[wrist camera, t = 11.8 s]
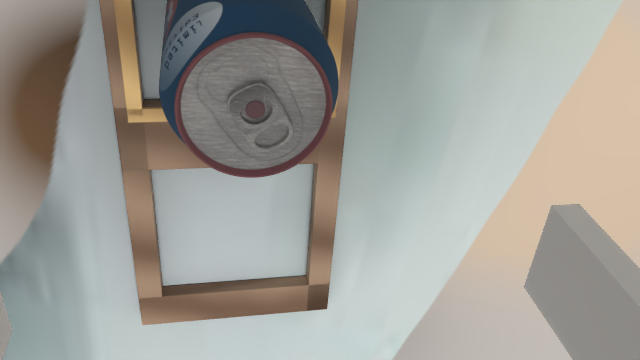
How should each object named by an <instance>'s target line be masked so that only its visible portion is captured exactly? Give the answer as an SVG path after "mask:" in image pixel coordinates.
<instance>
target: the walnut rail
mask: <svg viewBox="0 0 640 360" xmlns="http://www.w3.org/2000/svg"><path fill="white" fill-rule="evenodd" d="M99 3H100V10H101V18H102V25H103V33H104V40H105V48H106V55H107V63H108V70H109V78H110V85H111V93H112V100H113V108H114V115H115V123H116V130H117V138H118V145H119V153H120V160H121V168H122V175H123V183H124V190H125V198H126V205H127V213H128V220H129V228H130V235H131V243H132V251H133V258H134V266H135V273H136V281H137V288H138V296H139V303H140V311H141V318H142V325H149V324H161V323H172V322H184V321H195V320H206V319H218V318H229V317H241V316H252V315H264V314H275V313H287V312H298V311H310V310H321V309H327V304H328V294H329V284H330V274H331V264H332V255H333V245H334V235H335V225H336V215H337V205H338V195H339V185H340V176H341V166H342V156H343V146H344V136H345V126H346V116H347V106H348V97H349V87H350V77H351V67H352V57H353V47H354V37H355V27H356V18H357V8H358V0H326V11H325V25H324V38H325V40H326V41H327V43H328V45H329V47H330V49H331V51H332V53H333V56H334V59H335V61H336V65H337V70H338V79H339V88H338V96H337V101H336V105H335V108H334V111H333V113H332V116H331V120H330V124H329V127H328V129H327V131H326V134H325V135H324V137H323V139H322V141H321V142H320V144H319V145H318V146H317V148H316V149H315V150H314V151H313V152H312V153H311V154H310V155H309V156H308V157H307V158H305V159H304V160H303V161H302V162H300V163H299V164H314V177H313V191H312V205H311V219H310V233H309V246H308V260H307V274H306V276H294V277H280V278H267V279H254V280H241V281H228V282H214V283H201V284H188V285H175V286H163V285H162V275H161V266H160V256H159V246H158V236H157V226H156V217H155V207H154V197H153V187H152V177H151V170H160V169H186V168H212V167H210V166H208V165H207V164H205V163H204V162H202V161H201V160H200V159H198V158H197V157H196V156H195V155H194V154H193V153H192V152H191V151H190V149H189V148H188V147H187V145H186V144H185V143H184V142H183V141H182V140H181V139H180V138H179V137H178V136H177V135H176V134H175V132H174V131H173V129H172V128H171V126H170V125H169V123H168V121H167V119H166V117H165V115H164V112H163V109H162V105H161V101H160V99H148V100H144V99H143V89H142V79H141V70H140V60H139V50H138V40H137V31H136V21H135V11H134V1H133V0H99Z"/></svg>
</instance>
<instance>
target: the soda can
mask: <svg viewBox="0 0 640 360" xmlns="http://www.w3.org/2000/svg"><path fill="white" fill-rule="evenodd" d="M338 88H339V79H338V70H337V65H336V61H335V59H334V56H333V53H332V51H331V49H330V47H329V45H328V43H327V41H326V40H325V38H324V36H323V34H322V32H321V30H320V29H319V27H318V25H317V23H316V21H315V19H314V18H313V16H312V14H311V12H310V10H309V8H308V6H307V5H306V3H305V1H304V0H167V7H166V17H165V28H164V38H163V48H162V59H161V69H160V80H159V93H160V101H161V105H162V109H163V112H164V115H165V117H166V119H167V121H168V123H169V125H170V126H171V128H172V129H173V131H174V132H175V134H176V135H177V136H178V137H179V138H180V139H181V140H182V141H183V142H184V143H185V144H186V145H187V147H188V148H189V149H190V151H191V152H192V153H193V154H194V155H195V156H196V157H197V158H198V159H200V160H201V161H202V162H204V163H205V164H207V165H208V166H210V167H212V168H213V169H216V170H218V171H220V172H223V173H226V174H229V175H233V176H239V177H264V176H270V175H274V174H277V173H280V172H283V171H286V170H288V169H290V168H292V167H294V166H295V165H297V164H299V163H300V162H302V161H303V160H304V159H305V158H307V157H308V156H309V155H310V154H311V153H312V152H313V151H314V150H315V149H316V148H317V146H318V145H319V144H320V142H321V141H322V139H323V137H324V135H325V134H326V131H327V129H328V127H329V124H330V120H331V116H332V113H333V111H334V108H335V105H336V101H337V96H338Z"/></svg>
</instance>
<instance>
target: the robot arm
mask: <svg viewBox="0 0 640 360" xmlns="http://www.w3.org/2000/svg"><path fill="white" fill-rule="evenodd" d="M524 287H525V289H526V290H527V292H528V294H529V295H530V296H531V298H532V300H533V301H534V302H535V304H536V305H537V307H538V308H539V310H540V311H541V313H542V314H543V316H544V317H545V319H546V320H547V322H548V323H549V325H550V326H551V328H552V329H553V330H554V332H555V334H556V335H557V337H558V338H559V340H560V341H561V343H562V344H563V346H564V347H565V349H566V350H567V352H568V353H569V354H570V356H571V357H572V359H573V360H640V268H638V266H637V265H636V264H635V263H634V262H633V261H632V260H631V259H630V258H629V257H628V256H627V254H626V253H625V252H624V251H623V250H622V249H621V248H620V247H619V246H618V245H617V244H616V243H615V242H614V241H613V240H612V239H611V237H610V236H609V235H607V233H606V232H605V231H604V230H603V229H602V228H601V227H600V226H599V225H598V224H597V223H596V222H595V220H594V219H593V218H592V217H591V216H590V215H589V214H588V213H587V212H586V211H585V210H584V209H583V208H582V207H581V206H580V205H579V204H570V205H552V206H551V209H550V212H549V214H548V218H547V220H546V223H545V226H544V229H543V232H542V235H541V238H540V241H539V244H538V247H537V250H536V253H535V256H534V259H533V262H532V265H531V268H530V271H529V274H528V276H527V280H526V283H525V285H524ZM11 332H12V328H11V325H10V322H9V318H8V315H7V312H6V309H5V305H4V302H3V299H2V296H1V292H0V360H2V359H3V356H4V353H5V350H6V347H7V344H8V341H9V338H10V335H11Z"/></svg>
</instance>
